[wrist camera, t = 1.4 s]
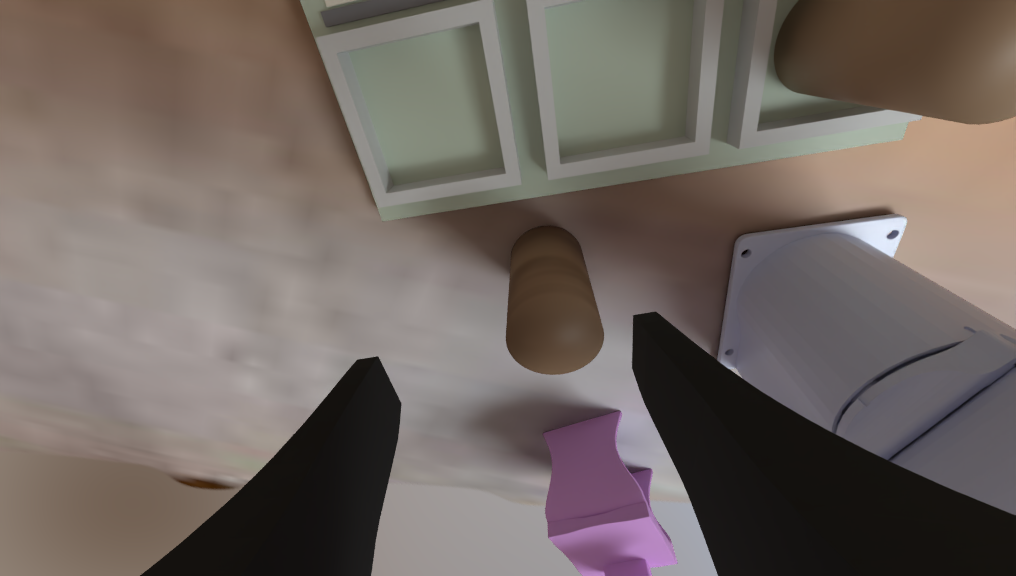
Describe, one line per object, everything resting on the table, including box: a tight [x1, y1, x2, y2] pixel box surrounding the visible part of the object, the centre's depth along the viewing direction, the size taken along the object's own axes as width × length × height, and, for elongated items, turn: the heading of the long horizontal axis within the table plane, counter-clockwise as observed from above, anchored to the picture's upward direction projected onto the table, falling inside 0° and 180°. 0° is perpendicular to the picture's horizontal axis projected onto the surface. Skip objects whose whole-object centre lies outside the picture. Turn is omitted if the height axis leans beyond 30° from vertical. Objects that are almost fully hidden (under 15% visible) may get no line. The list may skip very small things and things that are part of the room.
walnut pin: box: [506, 226, 604, 375], centre depth 19 cm, size 4×4×7 cm
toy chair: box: [543, 411, 677, 576], centre depth 25 cm, size 8×9×15 cm
